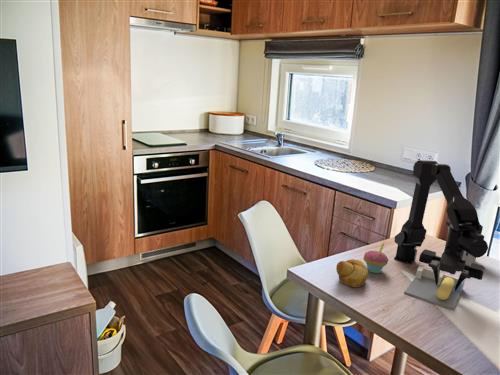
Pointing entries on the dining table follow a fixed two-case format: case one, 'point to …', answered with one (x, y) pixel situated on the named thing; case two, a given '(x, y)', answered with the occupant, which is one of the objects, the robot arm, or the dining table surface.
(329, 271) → the dining table surface
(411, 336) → the dining table surface
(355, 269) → the bread roll
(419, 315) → the dining table surface
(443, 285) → the yellow pill shape
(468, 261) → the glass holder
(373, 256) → the cupcake
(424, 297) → the capsule display stand
